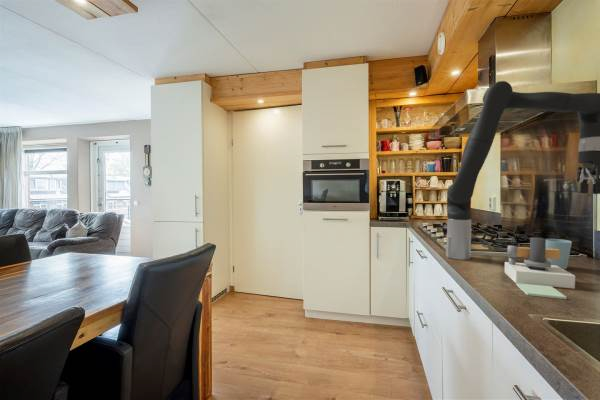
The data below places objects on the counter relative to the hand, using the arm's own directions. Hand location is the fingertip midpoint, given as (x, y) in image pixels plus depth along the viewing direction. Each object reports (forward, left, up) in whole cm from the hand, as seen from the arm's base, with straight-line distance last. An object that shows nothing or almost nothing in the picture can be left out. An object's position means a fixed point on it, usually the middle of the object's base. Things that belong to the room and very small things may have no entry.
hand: (590, 193), depth 108 cm
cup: (-10, -3, -29) cm, 30 cm away
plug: (-24, -23, -28) cm, 44 cm away
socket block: (-24, -23, -28) cm, 44 cm away
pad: (-27, -36, -28) cm, 53 cm away
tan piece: (-24, -20, -22) cm, 38 cm away
